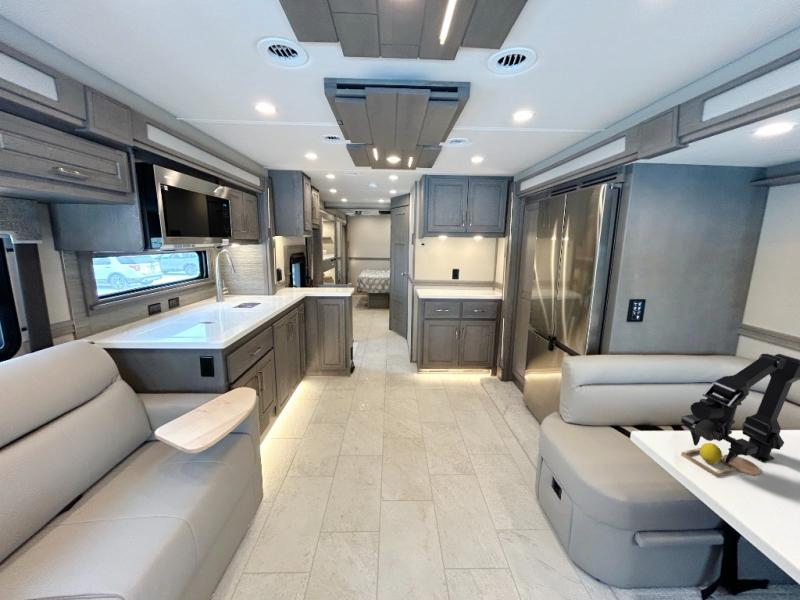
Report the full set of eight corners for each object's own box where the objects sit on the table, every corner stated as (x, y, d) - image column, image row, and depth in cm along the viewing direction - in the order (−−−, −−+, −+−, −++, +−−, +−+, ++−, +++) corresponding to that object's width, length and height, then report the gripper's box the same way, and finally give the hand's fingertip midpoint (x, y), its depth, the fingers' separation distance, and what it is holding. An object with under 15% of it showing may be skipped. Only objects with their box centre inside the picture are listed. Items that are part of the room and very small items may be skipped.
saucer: (732, 454, 114) (733, 452, 114) (766, 472, 106) (767, 470, 106) (716, 458, 112) (717, 456, 112) (749, 477, 104) (750, 475, 103)
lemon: (723, 469, 107) (728, 450, 105) (704, 467, 108) (710, 447, 106) (710, 458, 112) (716, 439, 110) (693, 456, 113) (698, 437, 112)
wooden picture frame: (700, 450, 117) (701, 447, 116) (736, 470, 107) (737, 467, 106) (680, 455, 114) (681, 452, 113) (716, 476, 104) (716, 473, 104)
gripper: (674, 404, 112) (666, 440, 116) (741, 436, 95) (728, 478, 98) (696, 400, 115) (686, 435, 119) (764, 430, 98) (751, 471, 101)
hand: (710, 453), depth 109 cm, fingers open, 9 cm apart
